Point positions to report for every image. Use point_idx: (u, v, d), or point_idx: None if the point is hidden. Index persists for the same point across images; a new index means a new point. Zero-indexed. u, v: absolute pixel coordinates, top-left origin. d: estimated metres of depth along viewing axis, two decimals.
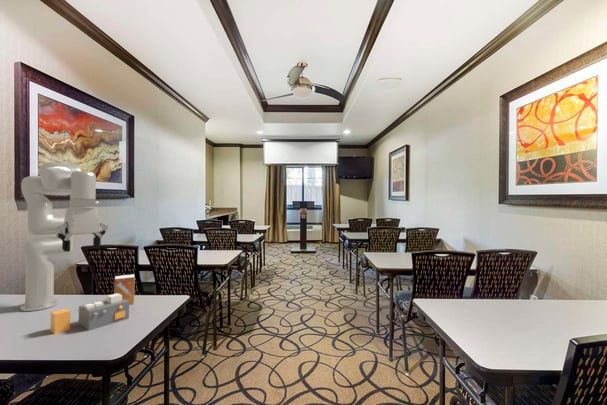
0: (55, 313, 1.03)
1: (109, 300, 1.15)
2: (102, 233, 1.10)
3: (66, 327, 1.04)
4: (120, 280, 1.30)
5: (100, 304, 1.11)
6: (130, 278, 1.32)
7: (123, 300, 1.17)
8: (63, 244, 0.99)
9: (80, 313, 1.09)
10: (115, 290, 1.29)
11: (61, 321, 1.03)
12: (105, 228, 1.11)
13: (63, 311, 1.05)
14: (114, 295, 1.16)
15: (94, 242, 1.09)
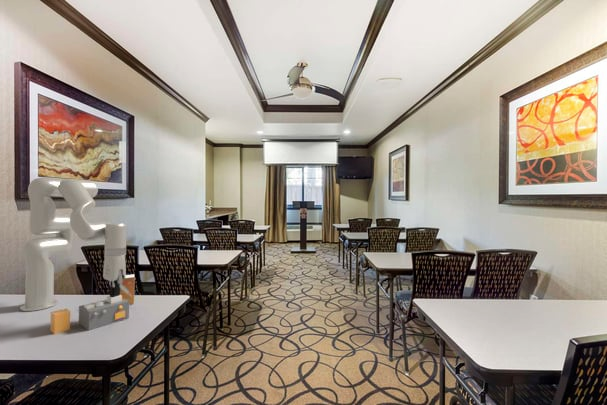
0: (55, 313, 1.03)
1: (109, 301, 1.15)
2: None
3: (66, 327, 1.04)
4: None
5: (100, 304, 1.11)
6: (130, 278, 1.32)
7: (123, 300, 1.17)
8: (116, 290, 1.16)
9: (80, 313, 1.09)
10: None
11: (61, 321, 1.03)
12: None
13: (63, 311, 1.05)
14: None
15: None
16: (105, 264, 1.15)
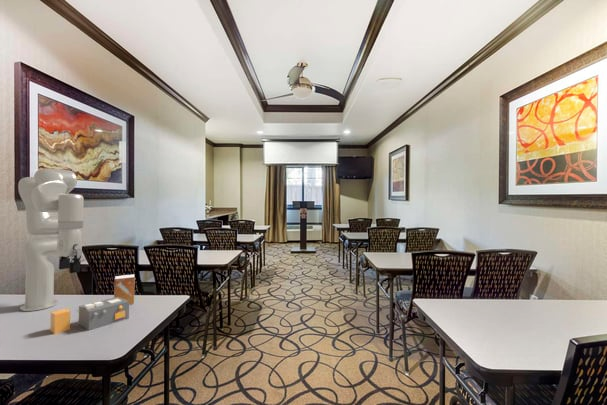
0: (55, 313, 1.03)
1: None
2: None
3: (66, 327, 1.04)
4: (120, 280, 1.30)
5: (100, 304, 1.11)
6: (130, 278, 1.32)
7: (123, 300, 1.17)
8: (76, 265, 1.04)
9: (80, 313, 1.09)
10: (115, 290, 1.29)
11: (61, 321, 1.03)
12: None
13: (63, 311, 1.05)
14: (114, 301, 1.16)
15: (62, 263, 1.08)
16: (58, 239, 1.05)
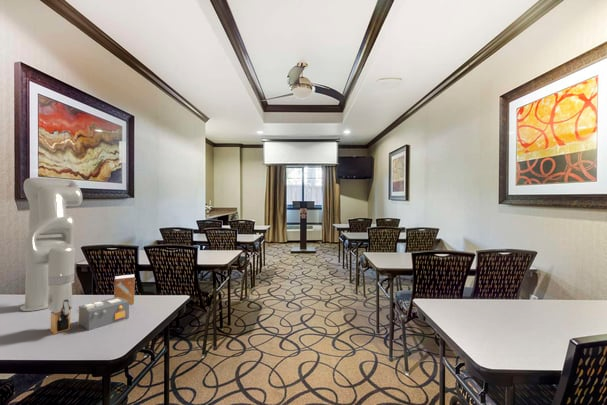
0: (55, 313, 1.03)
1: None
2: None
3: None
4: (120, 280, 1.30)
5: (100, 304, 1.11)
6: (130, 278, 1.32)
7: (123, 300, 1.17)
8: (64, 323, 1.03)
9: (80, 313, 1.09)
10: (115, 290, 1.29)
11: None
12: None
13: None
14: (114, 301, 1.16)
15: None
16: (49, 293, 1.04)
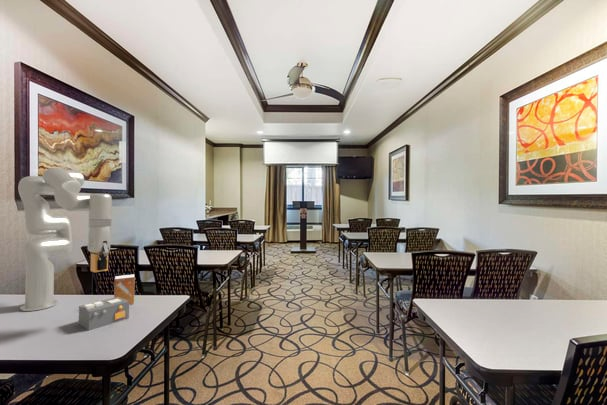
0: (95, 254, 1.11)
1: None
2: None
3: None
4: (120, 280, 1.30)
5: (100, 304, 1.11)
6: (130, 278, 1.32)
7: (123, 300, 1.17)
8: (103, 263, 1.11)
9: (80, 313, 1.09)
10: (115, 290, 1.29)
11: None
12: None
13: (102, 253, 1.13)
14: (114, 301, 1.16)
15: None
16: (89, 236, 1.12)
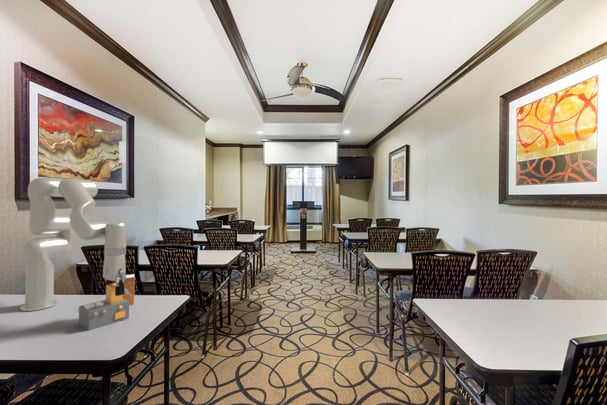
0: (111, 286, 1.15)
1: None
2: None
3: (120, 299, 1.16)
4: None
5: (100, 304, 1.11)
6: (130, 278, 1.32)
7: (123, 300, 1.17)
8: (121, 289, 1.13)
9: (80, 313, 1.09)
10: None
11: None
12: None
13: None
14: None
15: None
16: (105, 264, 1.15)
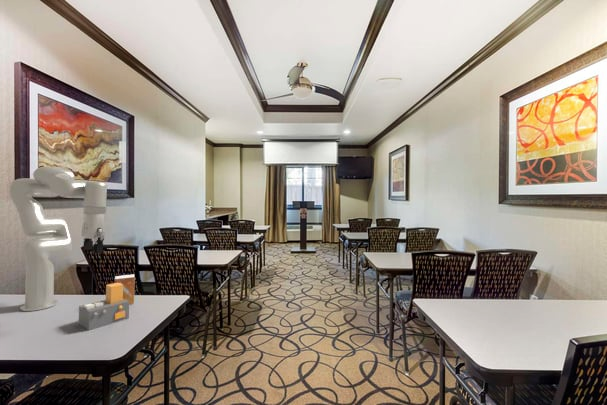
0: (111, 286, 1.15)
1: None
2: None
3: (120, 299, 1.16)
4: (120, 280, 1.30)
5: (100, 304, 1.11)
6: (130, 278, 1.32)
7: (123, 300, 1.17)
8: (99, 247, 1.14)
9: (80, 313, 1.09)
10: None
11: (116, 293, 1.15)
12: None
13: (117, 284, 1.17)
14: None
15: (86, 245, 1.19)
16: (84, 222, 1.16)
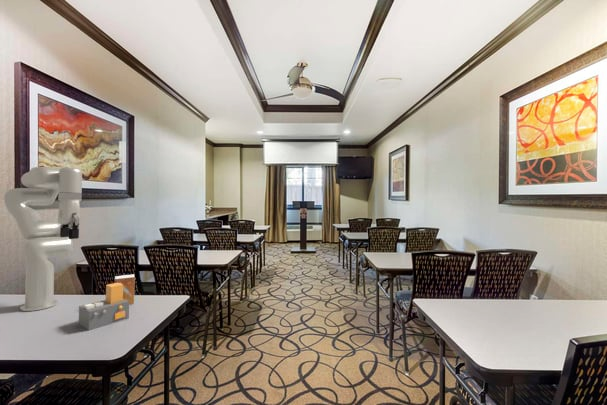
0: (111, 286, 1.15)
1: None
2: None
3: (120, 299, 1.16)
4: (120, 280, 1.30)
5: (100, 304, 1.11)
6: (130, 278, 1.32)
7: (123, 300, 1.17)
8: (74, 232, 1.14)
9: (80, 313, 1.09)
10: None
11: (116, 293, 1.15)
12: None
13: (117, 284, 1.17)
14: None
15: (63, 232, 1.19)
16: (59, 208, 1.16)
